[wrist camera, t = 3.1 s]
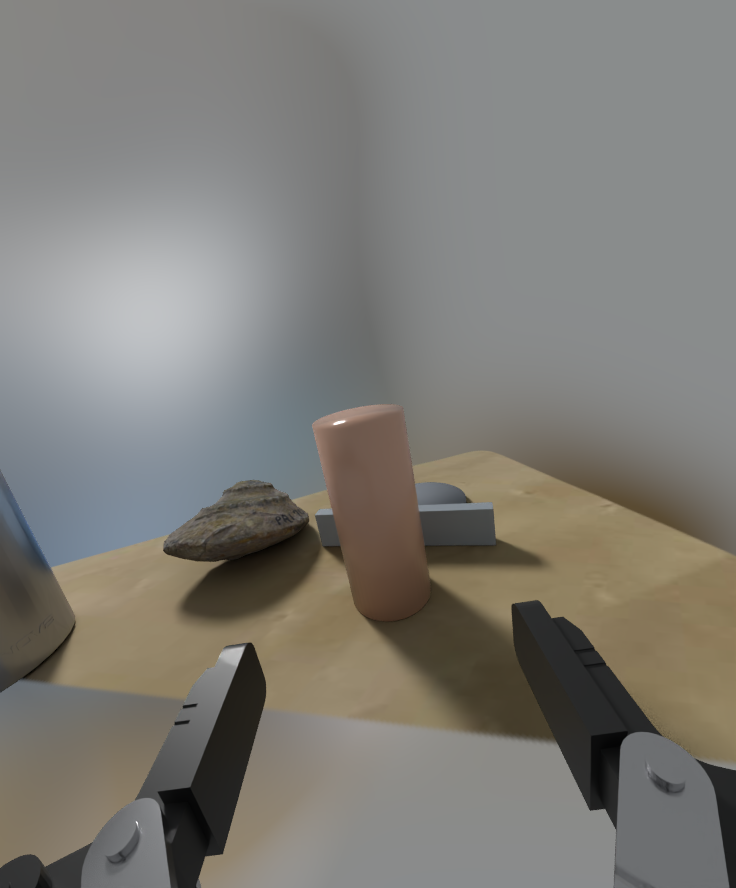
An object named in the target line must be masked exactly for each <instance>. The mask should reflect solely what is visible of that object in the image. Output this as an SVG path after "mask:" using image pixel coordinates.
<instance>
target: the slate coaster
mask: <svg viewBox="0 0 736 888" xmlns="http://www.w3.org/2000/svg"><path fill="white" fill-rule="evenodd" d="M415 487H416V493H417V500H418V505H437V504H462V503H466V496H465V494H464V492H463V491H462V490H460V489H459V488H457V487H455V486H453V485H449V484H445V483H436V482H427V483H417V484H415Z"/></svg>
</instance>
